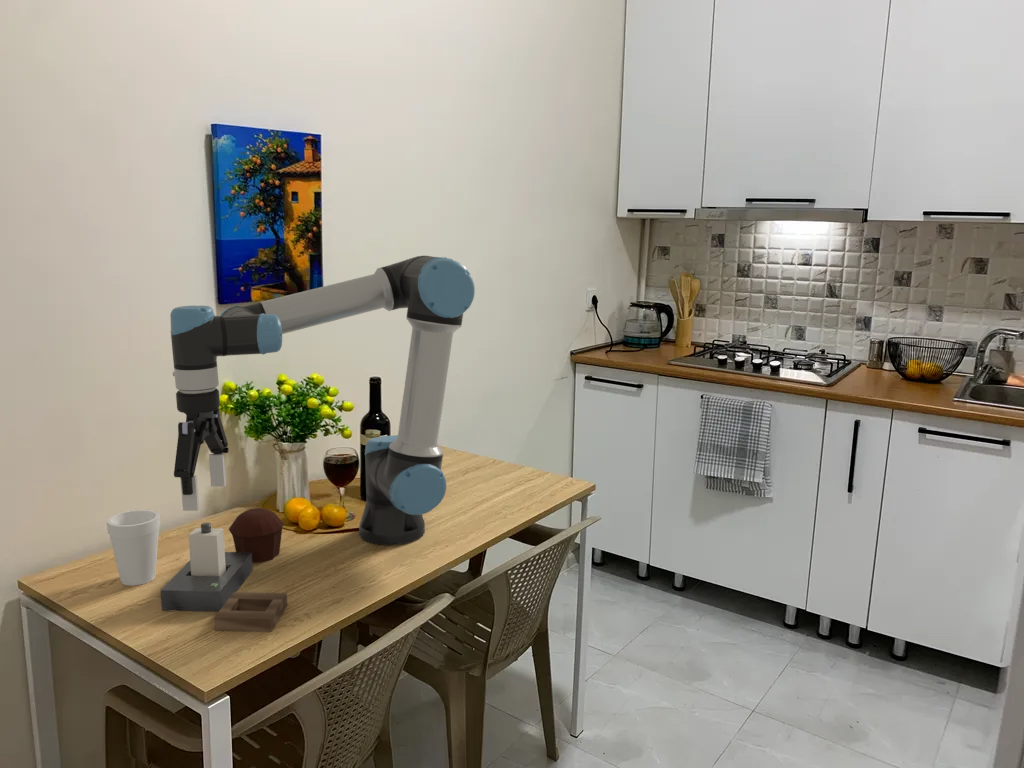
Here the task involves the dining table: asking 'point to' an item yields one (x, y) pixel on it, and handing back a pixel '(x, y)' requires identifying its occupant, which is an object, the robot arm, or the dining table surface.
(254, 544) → the muffin
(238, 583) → the switch box
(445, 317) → the robot arm
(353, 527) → the dining table surface
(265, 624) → the brown wooden square frame
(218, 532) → the plug
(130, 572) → the foam cup
